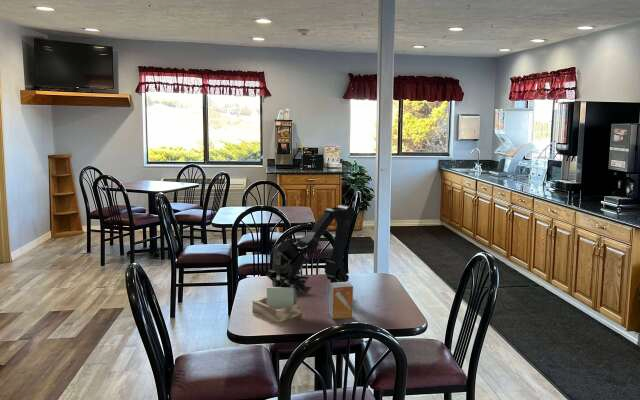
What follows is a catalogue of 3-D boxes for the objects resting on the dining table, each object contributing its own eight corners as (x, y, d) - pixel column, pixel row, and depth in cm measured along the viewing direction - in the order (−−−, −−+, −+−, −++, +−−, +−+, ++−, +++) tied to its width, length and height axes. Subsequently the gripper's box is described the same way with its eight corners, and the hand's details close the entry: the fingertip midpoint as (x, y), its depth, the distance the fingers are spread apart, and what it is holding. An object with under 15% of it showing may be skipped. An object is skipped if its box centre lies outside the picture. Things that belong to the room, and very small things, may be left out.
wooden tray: (275, 304, 229) (275, 294, 228) (301, 314, 218) (301, 303, 217) (252, 311, 221) (252, 300, 220) (278, 322, 209) (278, 311, 209)
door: (267, 309, 219) (267, 286, 218) (296, 310, 219) (296, 287, 217) (266, 310, 218) (266, 287, 216) (296, 311, 218) (296, 288, 216)
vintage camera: (304, 291, 247) (306, 248, 244) (271, 288, 250) (272, 245, 247) (309, 285, 256) (311, 244, 253) (277, 282, 259) (278, 241, 256)
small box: (332, 319, 213) (333, 287, 211) (328, 313, 219) (329, 282, 217) (352, 318, 214) (353, 286, 212) (348, 312, 221) (348, 281, 218)
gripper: (268, 251, 226) (247, 283, 220) (299, 259, 213) (278, 294, 207) (283, 265, 233) (263, 296, 227) (314, 274, 220) (294, 308, 214)
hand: (274, 298), depth 218 cm, fingers closed
